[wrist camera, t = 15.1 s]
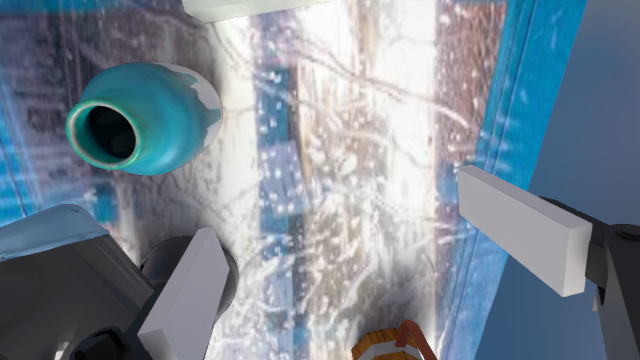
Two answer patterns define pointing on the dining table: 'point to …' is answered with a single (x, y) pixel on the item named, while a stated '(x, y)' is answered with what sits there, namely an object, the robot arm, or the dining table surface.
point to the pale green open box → (239, 8)
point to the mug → (394, 344)
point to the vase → (144, 118)
